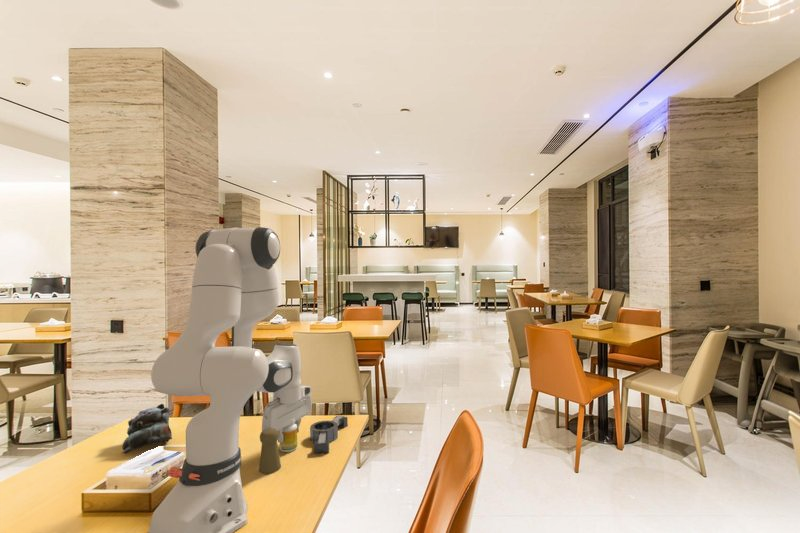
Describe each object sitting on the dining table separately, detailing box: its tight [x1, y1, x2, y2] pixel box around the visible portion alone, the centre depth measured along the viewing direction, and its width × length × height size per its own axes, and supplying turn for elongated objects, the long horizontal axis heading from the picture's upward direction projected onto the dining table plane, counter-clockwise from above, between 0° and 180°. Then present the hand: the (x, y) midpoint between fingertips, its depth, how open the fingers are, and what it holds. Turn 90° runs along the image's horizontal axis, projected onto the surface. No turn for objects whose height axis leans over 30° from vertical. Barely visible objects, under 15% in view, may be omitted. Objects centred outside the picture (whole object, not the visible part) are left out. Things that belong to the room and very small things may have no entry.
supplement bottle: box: [279, 418, 298, 453], centre depth 124 cm, size 5×5×10 cm
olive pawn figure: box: [258, 428, 282, 475], centre depth 112 cm, size 6×6×11 cm
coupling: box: [309, 414, 349, 455], centre depth 131 cm, size 23×12×4 cm, turn 157°
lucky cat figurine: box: [121, 403, 173, 454], centre depth 130 cm, size 15×12×14 cm
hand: (288, 437), depth 124 cm, fingers closed on supplement bottle, 5 cm apart
